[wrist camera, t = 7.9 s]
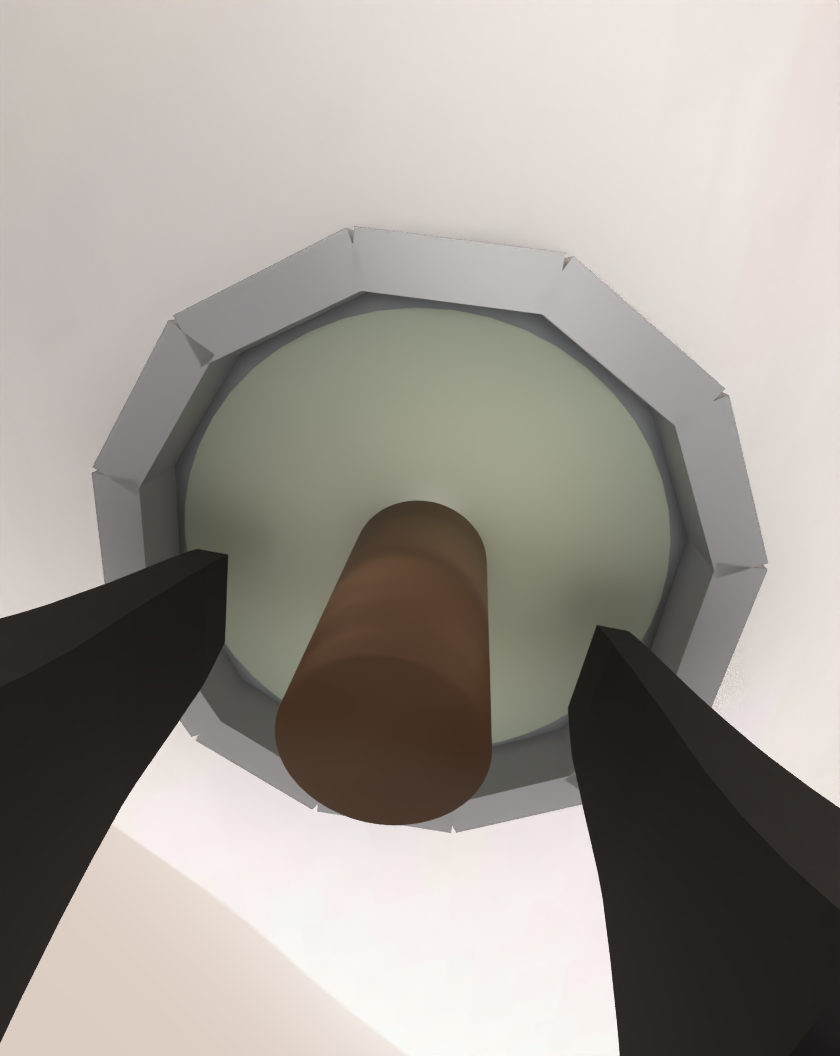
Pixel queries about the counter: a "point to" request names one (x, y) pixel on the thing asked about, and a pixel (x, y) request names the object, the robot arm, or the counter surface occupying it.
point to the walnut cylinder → (396, 674)
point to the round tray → (437, 479)
